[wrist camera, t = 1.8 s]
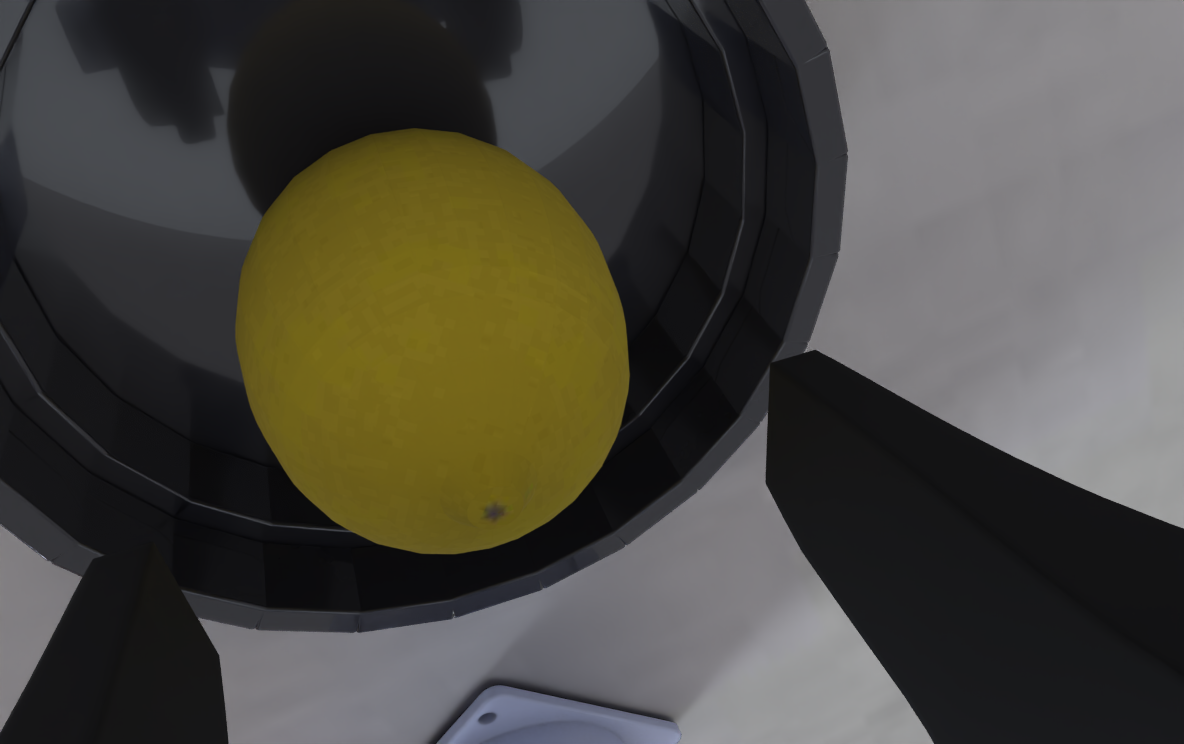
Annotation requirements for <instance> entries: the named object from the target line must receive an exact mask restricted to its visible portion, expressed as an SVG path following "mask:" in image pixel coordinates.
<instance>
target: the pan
mask: <svg viewBox="0 0 1184 744" xmlns="http://www.w3.org/2000/svg"><path fill="white" fill-rule="evenodd" d="M411 128H418V129H428V130H438V131H447V132H457V133H461V134H463V135H466V136H469V137H472V138H475V139H477V140H480V141H483V142H486V143H488V144H491V145H494V146H497V147H499V148H502V149H504V150H506V151H508V152H509V153H511V154H512V155H514V156H515V157H516V158H518V159H519V160H521V161H522V162H524V163H525V164H526V165H528V166H529V167H531V168H532V169H533V170H535V171H536V172H538V173H539V174H541V175H542V176H543V177H545V178H546V179H548V180H549V181H550V182H551V183H552V184H553V185H554V186H555V187H556V188H557V189H558V190H559V191H560V192H561V193H562V195H563V196H564V197H565V199H566V200H567V201H568V202H569V204H570V205H571V206H572V207H573V209H574V210H575V211H576V212H577V214H578V215H579V216H580V217H581V219H582V220H583V221H584V223H585V224H586V225H587V226H588V228H589V229H590V230H591V232H592V234H593V235H594V237H595V239H596V241H597V242H598V244H599V247H600V249H601V251H602V254H603V256H604V259H605V261H606V264H607V266H608V269H609V271H610V274H611V276H612V279H613V281H614V284H615V287H616V289H617V292H618V294H619V298H620V301H621V304H622V308H623V313H624V318H625V323H626V334H627V346H628V360H629V373H630V377H629V389H628V395H627V399H626V404H625V408H624V413H623V417H622V421H621V425H620V428H619V431H618V434H617V437H616V439H615V441H614V443H613V445H612V447H611V449H610V451H609V453H608V455H607V457H606V459H605V461H604V463H603V465H602V467H601V468H600V469H599V471H598V472H597V474H596V475H595V476H594V478H593V479H592V480H591V481H590V482H589V484H588V485H587V486H586V487H585V488H584V490H583V491H582V492H581V493H580V494H579V496H578V497H577V498H576V499H575V501H573V502H572V503H571V504H570V505H568V506H567V507H566V508H565V509H564V510H562V511H561V512H560V513H559V514H557V515H556V516H555V517H554V518H552V519H551V520H550V521H549V522H547V523H545V524H543V525H542V526H540V527H538V528H536V529H534V530H533V531H531V532H529V533H527V534H525V535H524V536H522V537H520V538H518V539H515V540H512V541H510V542H507V543H504V544H501V545H498V546H495V547H493V548H489V549H483V550H477V551H471V552H465V553H459V554H421V553H416V552H412V551H407V550H402V549H398V548H393V547H389V546H385V545H380V544H377V543H374V542H372V541H370V540H368V539H366V538H364V537H362V536H360V535H358V534H356V533H354V532H352V531H350V530H348V529H346V528H344V527H343V526H341V525H339V524H338V523H336V522H334V521H333V520H332V519H330V518H329V517H328V516H327V515H326V514H325V513H324V512H323V511H321V510H320V509H319V508H318V507H317V506H316V505H315V504H313V503H312V502H311V501H310V500H309V499H308V498H307V497H306V496H305V495H304V494H303V493H302V492H301V491H300V490H299V489H298V488H297V487H296V486H295V485H294V484H293V482H292V481H291V479H290V478H289V476H288V475H287V473H286V472H285V470H284V469H283V467H282V465H281V464H280V462H279V461H278V459H277V457H276V456H275V454H274V452H273V451H272V449H271V447H270V446H269V444H268V443H267V441H266V439H265V438H264V436H263V434H262V432H261V430H260V428H259V426H258V424H257V422H256V420H255V417H254V415H253V412H252V410H251V407H250V404H249V400H248V397H247V393H246V389H245V384H244V380H243V375H242V371H241V366H240V362H239V357H238V353H237V346H236V339H235V323H236V313H237V303H238V293H239V282H240V276H241V270H242V266H243V264H244V261H245V258H246V256H247V253H248V251H249V248H250V246H251V244H252V241H253V239H254V236H255V234H256V231H257V229H258V227H259V224H260V222H261V219H262V217H263V216H264V214H265V213H266V211H267V210H268V209H269V207H270V206H271V205H272V204H273V202H274V201H275V200H276V199H277V198H278V196H279V195H280V194H281V193H282V191H283V190H284V189H285V188H286V186H287V185H288V184H289V183H290V181H291V180H292V179H293V178H294V177H295V176H296V175H298V174H299V173H301V172H302V171H303V170H305V169H306V168H307V167H309V166H310V165H312V164H313V163H314V162H316V161H317V160H318V159H320V158H321V157H323V156H324V155H325V154H327V153H328V152H329V151H331V150H333V149H336V148H338V147H341V146H343V145H346V144H348V143H350V142H353V141H355V140H358V139H360V138H363V137H365V136H368V135H370V134H376V133H383V132H390V131H397V130H404V129H411ZM847 152H848V149H847V143H846V138H845V132H844V127H843V121H842V116H841V111H840V105H839V100H838V94H837V89H836V83H835V78H834V72H833V67H832V62H831V56H830V51H829V49H828V47H827V43H826V41H825V39H824V37H823V35H822V33H821V31H820V29H819V27H818V25H817V23H816V21H815V19H814V17H813V15H812V13H811V11H810V9H809V7H808V5H807V3H806V2H805V0H0V525H1V526H3V527H4V528H5V529H7V530H8V531H9V532H10V533H12V534H13V535H14V536H16V537H17V538H18V539H19V540H21V541H22V542H23V543H25V544H26V545H27V546H28V547H30V548H31V549H32V550H34V551H35V552H36V553H37V554H39V555H40V556H41V557H43V558H44V559H45V560H47V561H51V563H52V564H54V565H57V566H59V567H61V568H63V569H65V570H68V571H70V572H72V573H74V574H77V575H79V576H81V577H83V575H84V573H85V571H86V569H87V568H88V566H89V565H90V563H91V562H92V560H93V559H94V558H97V557H101V556H104V555H108V554H111V553H115V552H118V551H122V550H125V549H129V548H132V547H136V546H139V545H142V544H146V543H149V542H154V544H155V545H156V547H157V549H158V551H159V552H160V554H161V556H162V558H163V559H164V561H165V563H166V564H167V566H168V568H169V570H170V571H171V573H172V575H173V577H174V578H175V580H176V582H177V583H178V585H179V587H180V589H181V590H182V592H183V594H184V596H185V597H186V599H187V601H188V603H189V604H190V606H191V608H192V609H193V611H194V613H195V615H196V616H197V618H202V619H206V620H211V621H216V622H220V623H225V624H229V625H234V626H239V627H243V628H248V629H254V628H256V629H257V630H269V631H306V632H343V633H354V632H356V631H357V632H358V633H361V632H368V631H375V630H382V629H388V628H395V627H402V626H409V625H415V624H422V623H429V622H436V621H442V620H449V619H452V618H453V617H454V618H457V617H460V616H463V615H466V614H469V613H472V612H475V611H479V610H482V609H485V608H488V607H491V606H494V605H497V604H500V603H503V602H506V601H509V600H512V599H515V598H519V597H522V596H525V595H528V594H531V593H534V592H537V591H540V590H542V589H543V588H547V587H549V586H551V585H553V584H555V583H557V582H559V581H561V580H563V579H565V578H567V577H568V576H570V575H572V574H574V573H576V572H578V571H580V570H582V569H584V568H586V567H588V566H590V565H592V564H593V563H595V562H597V561H599V560H601V559H603V558H605V557H607V556H609V555H611V554H613V553H615V552H617V551H618V550H620V549H622V548H624V547H625V545H628V544H630V543H631V542H632V541H634V540H635V539H636V538H638V537H639V536H640V535H641V534H643V533H644V532H645V531H647V530H648V529H649V528H651V527H652V526H653V525H655V524H656V523H657V522H659V521H660V520H661V519H662V518H664V517H665V516H666V515H668V514H669V513H670V512H672V511H673V510H674V509H676V508H677V507H678V506H680V505H681V504H682V503H684V502H685V501H686V500H687V499H689V498H690V497H691V496H693V495H694V494H695V493H696V492H697V489H698V490H700V489H701V488H702V487H703V486H704V485H705V484H706V483H707V482H708V481H709V480H710V479H711V478H712V476H713V475H714V474H715V473H716V472H717V471H718V470H719V469H720V468H721V467H722V465H723V464H724V463H725V462H726V461H727V460H728V459H729V458H730V457H731V456H732V454H733V453H734V452H735V451H736V450H737V449H738V448H739V447H740V446H741V445H742V444H743V442H744V441H745V440H746V439H747V438H748V437H749V436H750V435H751V434H752V433H753V431H754V430H755V429H756V428H757V427H758V426H759V424H760V422H761V421H762V420H763V419H764V417H765V415H766V414H767V412H768V401H769V373H770V363H771V362H775V361H778V360H782V359H785V358H789V357H792V356H796V355H799V354H803V353H804V351H805V349H806V348H807V345H808V344H807V342H809V341H810V338H811V335H812V332H813V330H814V327H815V324H816V321H817V318H818V315H819V312H820V309H821V306H822V303H823V300H824V297H825V294H826V291H827V288H828V285H829V282H830V279H831V276H832V273H833V271H834V268H835V265H836V262H837V259H838V252H839V251H840V243H841V231H842V219H843V208H844V196H845V184H846V173H847V161H848V155H847Z"/></svg>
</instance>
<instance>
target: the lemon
mask: <svg viewBox="0 0 1184 744" xmlns="http://www.w3.org/2000/svg"><path fill="white" fill-rule="evenodd" d="M235 339H236V346H237V353H238V357H239V362H240V366H241V371H242V375H243V380H244V384H245V389H246V393H247V397H248V400H249V404H250V407H251V410H252V412H253V415H254V417H255V420H256V422H257V424H258V426H259V428H260V430H261V432H262V434H263V436H264V438H265V439H266V441H267V443H268V444H269V446H270V447H271V449H272V451H273V452H274V454H275V456H276V457H277V459H278V461H279V462H280V464H281V465H282V467H283V469H284V470H285V472H286V473H287V475H288V476H289V478H290V479H291V481H292V482H293V484H294V485H295V486H296V487H297V488H298V489H299V490H300V491H301V492H302V493H303V494H304V495H305V496H306V497H307V498H308V499H309V500H310V501H311V502H312V503H313V504H315V505H316V506H317V507H318V508H319V509H320V510H321V511H323V512H324V513H325V514H326V515H327V516H328V517H329V518H330V519H332V520H333V521H334V522H336V523H338V524H339V525H341V526H343V527H344V528H346V529H348V530H350V531H352V532H354V533H356V534H358V535H360V536H362V537H364V538H366V539H368V540H370V541H372V542H374V543H377V544H380V545H385V546H389V547H393V548H398V549H402V550H407V551H412V552H416V553H421V554H459V553H465V552H471V551H477V550H483V549H489V548H493V547H495V546H498V545H501V544H504V543H507V542H510V541H512V540H515V539H518V538H520V537H522V536H524V535H525V534H527V533H529V532H531V531H533V530H534V529H536V528H538V527H540V526H542V525H543V524H545V523H547V522H549V521H550V520H551V519H552V518H554V517H555V516H556V515H557V514H559V513H560V512H561V511H562V510H564V509H565V508H566V507H567V506H568V505H570V504H571V503H572V502H573V501H575V499H576V498H577V497H578V496H579V494H580V493H581V492H582V491H583V490H584V488H585V487H586V486H587V485H588V484H589V482H590V481H591V480H592V479H593V478H594V476H595V475H596V474H597V472H598V471H599V469H600V468H601V467H602V465H603V463H604V461H605V459H606V457H607V455H608V453H609V451H610V449H611V447H612V445H613V443H614V441H615V439H616V437H617V434H618V431H619V428H620V425H621V421H622V417H623V413H624V408H625V404H626V399H627V395H628V389H629V377H630V373H629V360H628V346H627V334H626V323H625V318H624V313H623V308H622V304H621V301H620V298H619V294H618V292H617V289H616V287H615V284H614V281H613V279H612V276H611V274H610V271H609V269H608V266H607V264H606V261H605V259H604V256H603V254H602V251H601V249H600V247H599V244H598V242H597V241H596V239H595V237H594V235H593V234H592V232H591V230H590V229H589V228H588V226H587V225H586V224H585V223H584V221H583V220H582V219H581V217H580V216H579V215H578V214H577V212H576V211H575V210H574V209H573V207H572V206H571V205H570V204H569V202H568V201H567V200H566V199H565V197H564V196H563V195H562V193H561V192H560V191H559V190H558V189H557V188H556V187H555V186H554V185H553V184H552V183H551V182H550V181H549V180H548V179H546V178H545V177H543V176H542V175H541V174H539V173H538V172H536V171H535V170H533V169H532V168H531V167H529V166H528V165H526V164H525V163H524V162H522V161H521V160H519V159H518V158H516V157H515V156H514V155H512V154H511V153H509V152H508V151H506V150H504V149H502V148H499V147H497V146H494V145H491V144H488V143H486V142H483V141H480V140H477V139H475V138H472V137H469V136H466V135H463V134H461V133H457V132H447V131H438V130H428V129H418V128H411V129H404V130H397V131H390V132H383V133H376V134H370V135H368V136H365V137H363V138H360V139H358V140H355V141H353V142H350V143H348V144H346V145H343V146H341V147H338V148H336V149H333V150H331V151H329V152H328V153H327V154H325V155H324V156H323V157H321V158H320V159H318V160H317V161H316V162H314V163H313V164H312V165H310V166H309V167H307V168H306V169H305V170H303V171H302V172H301V173H299V174H298V175H296V176H295V177H294V178H293V179H292V180H291V181H290V183H289V184H288V185H287V186H286V188H285V189H284V190H283V191H282V193H281V194H280V195H279V196H278V198H277V199H276V200H275V201H274V202H273V204H272V205H271V206H270V207H269V209H268V210H267V211H266V213H265V214H264V216H263V217H262V219H261V222H260V224H259V227H258V229H257V231H256V234H255V236H254V239H253V241H252V244H251V246H250V248H249V251H248V253H247V256H246V258H245V261H244V264H243V266H242V270H241V276H240V282H239V293H238V303H237V313H236V323H235Z"/></svg>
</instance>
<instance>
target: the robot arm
mask: <svg viewBox="0 0 1184 744" xmlns="http://www.w3.org/2000/svg"><path fill="white" fill-rule="evenodd" d="M766 485H767V487H768V488H769V490H770V492H771V494H772V496H773V498H774V500H775V502H776V504H777V506H778V508H779V510H780V512H781V514H782V516H783V518H784V520H785V522H786V523H787V525H788V527H789V529H790V531H791V532H792V534H793V536H794V538H795V540H796V542H797V543H798V545H799V547H800V549H801V551H802V552H803V554H804V555H805V557H806V558H807V560H808V561H809V562H810V564H811V565H812V567H813V568H814V570H815V571H816V573H817V574H818V575H819V577H820V578H821V580H822V581H823V583H824V584H825V585H826V587H827V588H828V590H829V591H830V593H831V594H832V595H833V597H834V598H835V600H836V601H837V603H838V604H839V605H840V607H841V608H842V610H843V611H844V612H845V614H846V615H847V617H848V618H849V619H850V621H851V622H852V624H853V625H854V626H855V628H856V629H857V631H858V632H859V633H860V635H861V636H862V638H863V639H864V640H865V642H866V643H867V645H868V646H869V647H870V649H871V650H872V652H873V653H874V654H875V656H876V657H877V659H878V660H879V661H880V663H881V664H882V666H883V667H884V668H885V670H886V671H887V673H888V674H889V675H890V677H891V678H892V680H893V681H894V682H895V684H896V685H897V687H898V688H899V689H900V691H901V692H902V694H903V695H904V696H905V698H906V699H907V701H908V703H909V704H910V706H911V707H912V709H913V710H914V712H915V713H916V715H917V716H918V718H919V719H920V721H921V722H922V724H923V726H924V727H925V729H926V730H927V732H928V734H929V735H930V737H931V739H932V741H933V742H934V744H1184V529H1183V528H1180V527H1178V526H1175V525H1172V524H1169V523H1167V522H1164V521H1162V520H1159V519H1156V518H1154V517H1151V516H1149V515H1146V514H1144V513H1141V512H1139V511H1136V510H1134V509H1131V508H1129V507H1126V506H1124V505H1121V504H1119V503H1116V502H1113V501H1111V500H1108V499H1106V498H1103V497H1101V496H1099V495H1096V494H1094V493H1092V492H1089V491H1087V490H1085V489H1082V488H1080V487H1078V486H1075V485H1073V484H1071V483H1069V482H1066V481H1064V480H1062V479H1060V478H1058V477H1056V476H1054V475H1052V474H1049V473H1047V472H1045V471H1043V470H1041V469H1039V468H1037V467H1035V466H1032V465H1030V464H1028V463H1026V462H1024V461H1022V460H1020V459H1017V458H1015V457H1013V456H1011V455H1009V454H1007V453H1005V452H1003V451H1001V450H999V449H997V448H995V447H993V446H991V445H989V444H987V443H985V442H983V441H981V440H980V439H978V438H976V437H974V436H972V435H970V434H968V433H966V432H964V431H962V430H960V429H958V428H957V427H955V426H953V425H951V424H949V423H947V422H945V421H943V420H942V419H940V418H938V417H936V416H934V415H932V414H931V413H929V412H927V411H925V410H923V409H921V408H920V407H918V406H916V405H914V404H912V403H911V402H909V401H907V400H905V399H903V398H902V397H900V396H898V395H896V394H895V393H893V392H891V391H889V390H887V389H886V388H884V387H882V386H880V385H878V384H877V383H875V382H873V381H871V380H870V379H868V378H866V377H864V376H863V375H861V374H859V373H857V372H855V371H854V370H852V369H850V368H848V367H846V366H845V365H843V364H841V363H839V362H837V361H836V360H834V359H832V358H830V357H828V356H826V355H824V354H822V353H820V352H819V351H817V350H813V351H809V352H806V353H803V354H799V355H796V356H792V357H789V358H785V359H782V360H778V361H775V362H771V363H770V373H769V401H768V429H767V456H766ZM681 735H682V734H681V732H680V730H679V728H678V725H677V724H676V723H674V722H670V721H665V720H661V719H656V718H651V717H647V716H642V715H638V714H633V713H628V712H624V711H619V710H614V709H610V708H605V707H601V706H596V705H591V704H587V703H582V702H577V701H573V700H568V699H564V698H559V697H554V696H550V695H545V694H540V693H536V692H531V691H527V690H522V689H517V688H513V687H508V686H503V685H496V686H492V687H490V688H488V689H486V690H484V691H483V692H482V693H481V694H480V695H479V696H478V697H477V699H476V700H475V701H474V702H473V703H472V704H471V705H470V706H469V707H468V709H467V710H466V711H465V712H464V713H463V714H462V715H461V716H460V718H459V719H458V720H457V721H456V722H455V723H454V724H453V725H452V726H451V728H450V729H449V730H448V731H447V732H446V733H445V734H444V735H443V737H442V738H441V739H440V740H439V741H438V742H437V743H436V744H677V743H678V742H679V740H680V739H681ZM0 744H228V733H227V722H226V711H225V701H224V693H223V684H222V676H221V667H220V659H219V654H218V653H217V651H216V649H215V648H214V646H213V644H212V642H211V641H210V639H209V637H208V635H207V634H206V632H205V630H204V629H203V627H202V625H201V623H200V622H199V620H198V618H197V616H196V615H195V613H194V611H193V609H192V608H191V606H190V604H189V603H188V601H187V599H186V597H185V596H184V594H183V592H182V590H181V589H180V587H179V585H178V583H177V582H176V580H175V578H174V577H173V575H172V573H171V571H170V570H169V568H168V566H167V564H166V563H165V561H164V559H163V558H162V556H161V554H160V552H159V551H158V549H157V547H156V545H155V544H154V542H149V543H146V544H142V545H139V546H136V547H132V548H129V549H125V550H122V551H118V552H115V553H111V554H108V555H104V556H101V557H97V558H94V559H93V560H92V562H91V563H90V565H89V566H88V568H87V569H86V571H85V573H84V575H83V577H82V579H81V581H80V583H79V585H78V587H77V588H76V590H75V592H74V594H73V596H72V598H71V600H70V602H69V604H68V606H67V608H66V610H65V612H64V614H63V616H62V618H61V620H60V622H59V624H58V626H57V628H56V630H55V632H54V633H53V635H52V637H51V639H50V641H49V643H48V645H47V647H46V649H45V651H44V653H43V655H42V657H41V659H40V660H39V662H38V664H37V666H36V668H35V670H34V672H33V674H32V676H31V678H30V680H29V681H28V683H27V685H26V687H25V689H24V691H23V692H22V694H21V696H20V698H19V700H18V702H17V703H16V705H15V707H14V709H13V711H12V712H11V714H10V716H9V718H8V720H7V721H6V723H5V725H4V727H3V729H2V731H1V732H0Z"/></svg>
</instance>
